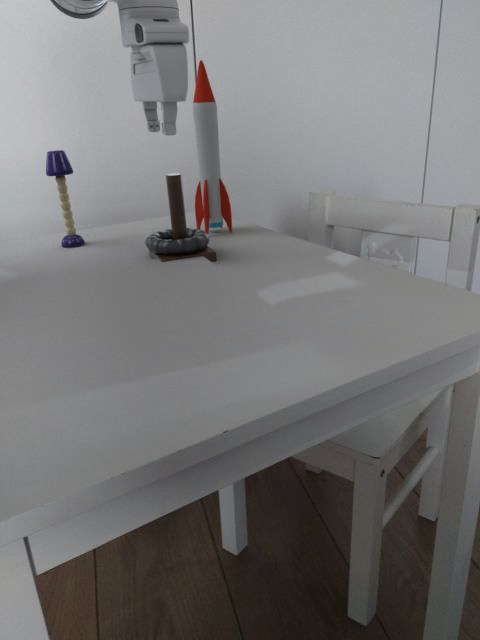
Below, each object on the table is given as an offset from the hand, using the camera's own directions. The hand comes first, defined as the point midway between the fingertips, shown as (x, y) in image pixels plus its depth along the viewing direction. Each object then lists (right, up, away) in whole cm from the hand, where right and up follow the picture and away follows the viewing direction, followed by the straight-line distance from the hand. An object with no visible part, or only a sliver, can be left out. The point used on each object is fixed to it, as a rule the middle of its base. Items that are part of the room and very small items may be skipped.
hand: (161, 133), depth 90 cm
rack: (+3, -19, +5) cm, 20 cm away
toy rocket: (+7, -11, +21) cm, 25 cm away
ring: (+2, -16, +5) cm, 17 cm away
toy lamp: (-20, -14, +17) cm, 30 cm away
